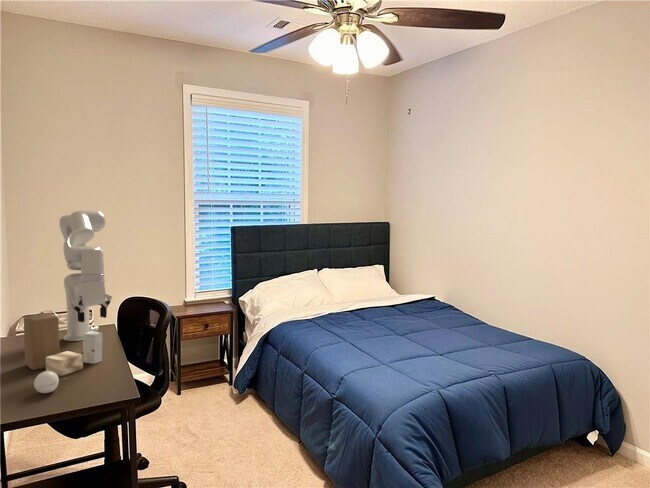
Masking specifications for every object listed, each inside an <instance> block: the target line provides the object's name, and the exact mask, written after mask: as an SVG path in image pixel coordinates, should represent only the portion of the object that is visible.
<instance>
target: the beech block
mask: <svg viewBox="0 0 650 488" xmlns="http://www.w3.org/2000/svg"><path fill="white" fill-rule="evenodd" d="M83 369H84V362H83V353H78V352H74V351H70V350H65V351H63V352H59V353H58V354H55V355H51V356H48V357H46V368H45V371H51V372H54V373H56V374H57V376H60V377H61V376H62V377H63V376H65V375H68V374H71V373H75V372H77V371H80V370H83Z"/></svg>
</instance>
